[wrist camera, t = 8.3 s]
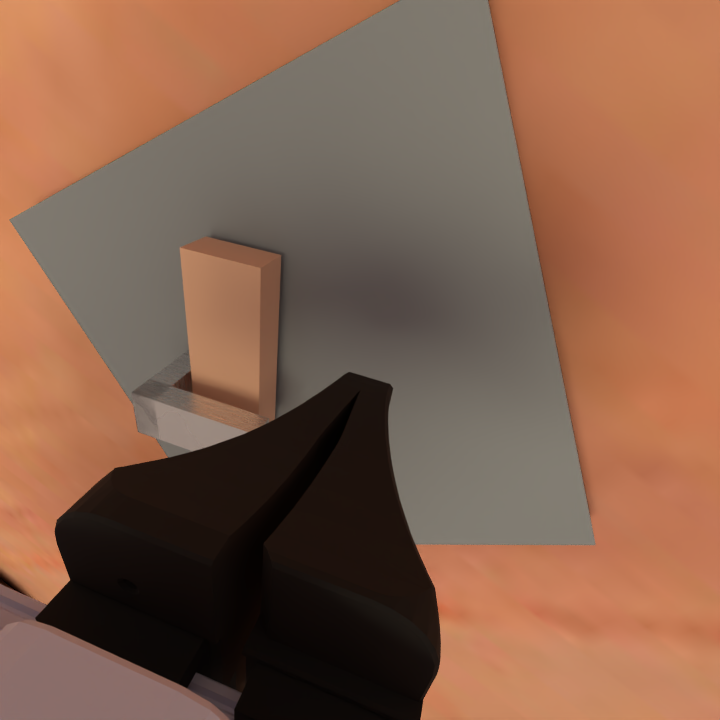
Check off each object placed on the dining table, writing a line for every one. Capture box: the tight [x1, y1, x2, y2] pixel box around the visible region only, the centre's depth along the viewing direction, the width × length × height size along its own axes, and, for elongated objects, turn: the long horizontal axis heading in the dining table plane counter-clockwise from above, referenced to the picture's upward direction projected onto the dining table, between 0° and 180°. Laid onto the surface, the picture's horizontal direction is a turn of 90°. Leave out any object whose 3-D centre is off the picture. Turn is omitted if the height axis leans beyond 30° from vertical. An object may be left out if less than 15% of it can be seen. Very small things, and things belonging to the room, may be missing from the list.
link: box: [180, 237, 281, 422], centre depth 18 cm, size 15×4×4 cm, turn 172°
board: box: [10, 0, 595, 545], centre depth 19 cm, size 20×20×2 cm
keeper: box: [131, 350, 269, 451], centre depth 18 cm, size 2×5×4 cm, turn 82°
